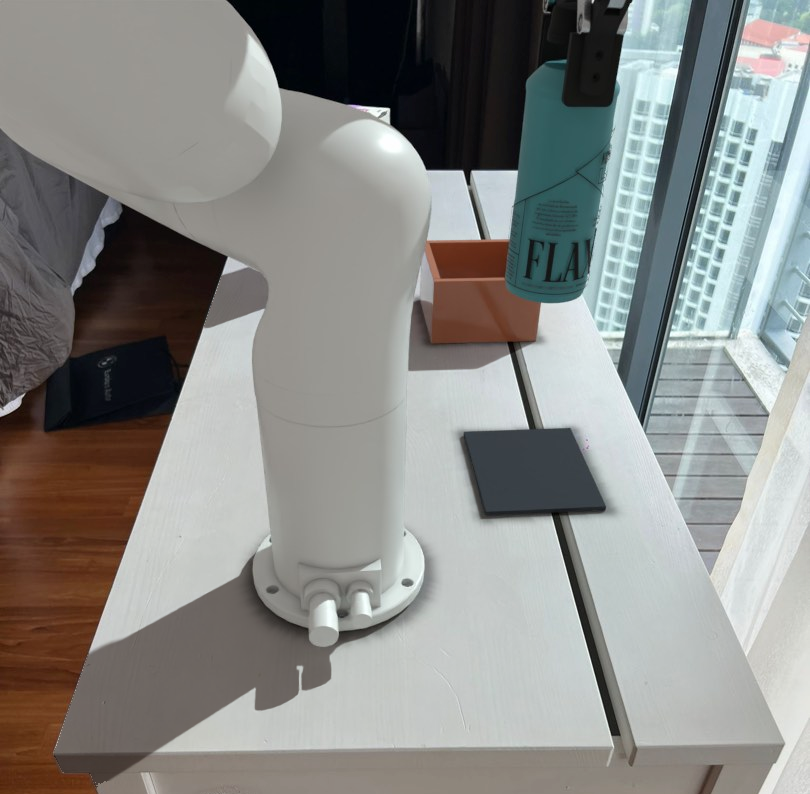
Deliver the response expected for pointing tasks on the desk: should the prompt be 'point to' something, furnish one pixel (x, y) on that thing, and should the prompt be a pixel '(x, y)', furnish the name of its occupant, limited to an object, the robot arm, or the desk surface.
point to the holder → (472, 294)
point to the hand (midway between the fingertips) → (571, 90)
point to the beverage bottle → (557, 182)
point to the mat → (531, 472)
